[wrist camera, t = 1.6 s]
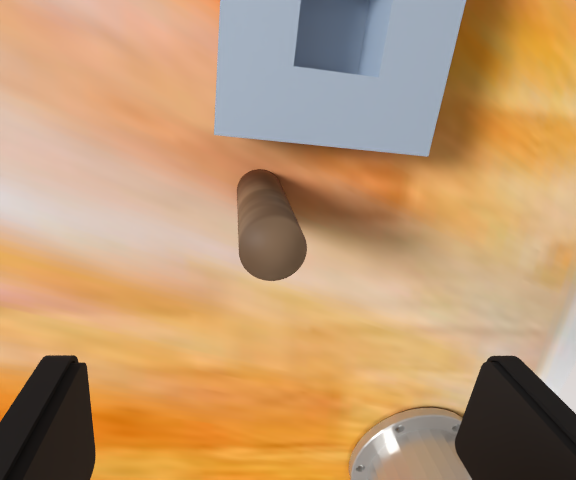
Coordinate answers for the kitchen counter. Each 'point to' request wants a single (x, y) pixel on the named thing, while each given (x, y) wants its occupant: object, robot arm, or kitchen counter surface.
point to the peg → (267, 228)
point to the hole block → (335, 71)
